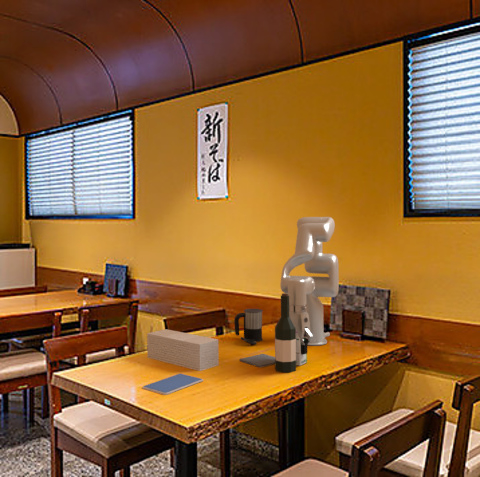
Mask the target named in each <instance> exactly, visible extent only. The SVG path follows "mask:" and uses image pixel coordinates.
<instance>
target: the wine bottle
mask: <svg viewBox="0 0 480 477" xmlns="http://www.w3.org/2000/svg"><path fill="white" fill-rule="evenodd" d="M274 352H275V353H274V357H275V364H274V367H275V368H274V369H275V371H276V372H278V373H283V374H285V373H286V374H287V373H288V374H289V373H294V372H295V371H296V370H297V365H296V328H295V326H294V324H293V323H292V321H291V319H290V317H289V295H288V293H284V292H283V293H281V295H280V318H279V319H278V321H277V322H276V325H274Z"/></svg>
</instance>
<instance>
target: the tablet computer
mask: <svg viewBox="0 0 480 477" xmlns="http://www.w3.org/2000/svg"><path fill="white" fill-rule="evenodd" d="M203 381H204V379H203V378H201V377H196V376H193V375H189V374H183V373H178V374H174V375H171V376H169V377H166V378H162V379H160V380H158V381H154V382H152V383H149V384H146V385H143V386H142V389H143V390H145V391H149V392H153V393H157V394H160V395H164V396H167V395H171V394H172V393H174V392H178V391H181V390H183V389H186V388H188V387H190V386H193V385H196V384H198V383H199V384H200V383H202V382H203Z"/></svg>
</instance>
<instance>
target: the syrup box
mask: <svg viewBox="0 0 480 477" xmlns="http://www.w3.org/2000/svg"><path fill="white" fill-rule="evenodd" d="M303 339H304V338H303ZM304 341H305V339H304ZM301 345H302V343H301V338H300V337H299V335H298V333H297V331H296V366H300V367H301V366H302V365H303V366H304V364H306V363H308V353H307V354H303V355H302V354H301Z"/></svg>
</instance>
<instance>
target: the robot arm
mask: <svg viewBox="0 0 480 477" xmlns="http://www.w3.org/2000/svg"><path fill="white" fill-rule="evenodd" d="M335 226H336V224H335V220H334V219H333V218H332V217H331V216H304V217H301V218H299V219H297V222H296V227H297V231H296V232H297V234H296V239H295V240H296V242H295V247H294V249H295V250H294V254H293V255H292V256H290V257H289V258H288V259H287V261H286V262H285V263H284V264H283V267H282V271H281V275H280V290H281V292H283V293H288V295H289V317H290V319H291V321H292V323H293V324H294V326H295V328H296V331H297V333H298V335H299V337H300V338H301V343H302V345H301V354H302V355H303V354H307V355H308V346H322V345H326V344H327V343H328V340H327V338H328V337H329V336H331V335H330V332H329V331H327V332H324V305H323V302H322V301H321V299H320V298H335V297H337V296H338V295H339V291H340V287H339V285H340V284H339V282H340V281H339V280H340V279H339V270H340V268H339V259H338V256H337V255H336V254H333V253H323V243H327V242H329V241H330V240H331V238H332V236H333V234H334V233H335V228H336V227H335ZM303 264H304V270H305V272H307V273H309V274H320V275H322V274H323V275H328V276H319V275H318V276H316V275H315V276H314V275H313V276H306V275H290V274H291V272H292V270H294V269H295V268H297V267H299V266H300V265H303ZM303 338H304V339H305V341H304V339H303Z"/></svg>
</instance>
